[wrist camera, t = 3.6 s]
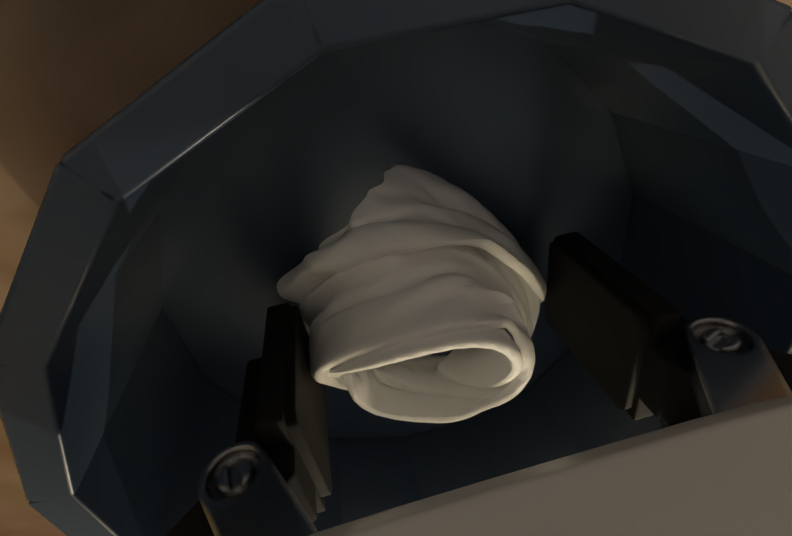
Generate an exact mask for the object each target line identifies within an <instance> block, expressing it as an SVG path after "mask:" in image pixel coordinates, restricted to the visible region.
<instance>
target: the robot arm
mask: <svg viewBox="0 0 792 536" xmlns="http://www.w3.org/2000/svg"><path fill="white" fill-rule="evenodd" d="M681 314H682V312H681V311H680V310H678V309H677V308H676V307H675V306H673V305H672V304H671V303H669V302H668V301H667V300H665V299H664V298H663V297H662V296H660V295H659V294H658V293H656V292H655V291H654V290H652V289H651V288H650V287H649V286H647V285H646V284H645V283H643V282H642V281H641V280H639V279H638V278H637V277H635V276H634V275H633V274H632V273H630V272H629V271H628V270H626V269H625V268H624V267H622V266H621V265H620V264H619V263H617V262H616V261H615V260H613V259H612V258H611V257H609V256H608V255H607V254H606V253H604V252H603V251H602V250H600V249H599V248H598V247H596V246H595V245H594V244H592V243H591V242H590V241H589V240H587V239H586V238H585V237H583V236H582V235H581V234H579V233H578V232H571V233H567V234H563V235H558V236H556V237H555V238H554V242H551V243H550V245H549V255H548V275H547V296H546V318H547V321H548V323H549V324H550V326H551V327H552V328H553V330H554V331H555V332H556V333H557V334H558V336H559V337H560V338H561V339H562V341H563V342H564V343H565V344H566V345H567V347H568V348H569V349H570V350H571V352H572V353H573V354H574V355H575V356H576V358H577V359H578V360H579V361H580V363H581V364H582V365H583V366H584V368H585V369H586V370H587V371H588V372H589V374H590V375H591V376H592V377H593V379H594V380H595V381H596V382H597V383H598V385H599V386H600V387H601V388H602V390H603V391H604V392H605V393H606V394H607V396H608V397H609V398H610V399H611V401H612V402H613V403H614V404H615V405H616V407H617V408H619V409H620V410H626V412H627V413H628V414H629V415H630V416H631V418H632V419H633V420H634V421H635V420H639V419H642V418H645V417H649V416H652V415H654V416H655V417H656V418H658V419H660V424H661V428H662V429H659V430H655V431H652V432H648V433H645V434H641V435H638V436H634V437H631V438H627V439H624V440H620V441H617V442H614V443H610V444H607V445H603V446H600V447H596V448H593V449H590V450H586V451H583V452H579V453H576V454H573V455H569V456H566V457H562V458H559V459H556V460H552V461H549V462H545V463H542V464H539V465H535V466H532V467H528V468H525V469H522V470H518V471H515V472H512V473H508V474H505V475H501V476H498V477H495V478H491V479H488V480H485V481H481V482H478V483H475V484H471V485H468V486H465V487H461V488H458V489H455V490H451V491H448V492H445V493H441V494H438V495H435V496H431V497H428V498H425V499H421V500H418V501H415V502H411V503H408V504H405V505H402V506H398V507H395V508H392V509H388V510H385V511H382V512H379V513H376V514H372V515H369V516H366V517H363V518H360V519H357V520H354V521H351V522H347V523H344V524H341V525H338V526H335V527H332V528H329V529H326V530H322V531H319V532H318V530H317V529H316V527H315V526H314V524H313V522H314V521H315V520H316V518H317V513H320V512H323V511H325V496H327V495H331V492H332V487H331V472H330V458H329V443H328V429H327V414H326V400H325V386H324V384H321V383H318V382H317V381H316V380H315V379H314V378H313V376H312V375H311V372H310V369H309V361H310V360H309V350H308V343H309V336H308V333H307V330H306V328H305V325H304V322H303V319H302V317H301V314H300V311H299V309H298V307H297V306H292V307H291V306H290V304H289V303H288V302H287V303H283V304H279V305H275V306H271V307H268V309H267V316H266V325H265V334H264V343H263V352H262V357H261V358H257V359H253V360H249V362H248V363H247V367H246V374H245V380H244V387H243V393H242V400H241V407H240V413H239V420H238V426H237V433H236V440H235V443H234V444H231V445H229V446H227V447H225V448H224V449H222V450H220V451H219V452H218V453H217V454H216V455H214V456H213V457H212V458H211V459H210V460H209V462H208V463H207V464H206V465H205V467H204V468H203V470H202V472H201V474H200V476H199V478H198V484H197V493H198V498H199V501H198V502H197V503H196V504H195V505H194V506H193V507H192V508H191V509H190V510H189V511H188V512H187V513H186V514H185V515H184V516H183V518H182V519H181V520H180V521H179V522H178V523H177V524H176V525H175V526H174V527H173V528H172V529H171V530H170V531H169V532H168V533H167V534H166V535H165V536H792V354H788V353H784V352H779V351H775V350H770V349H767V348H766V346H765V344H764V342H763V340H762V339H761V338H760V336H759V335H758V334H757V333H756V332H755V331H754V330H752V329H751V328H750V327H748V326H747V325H744V324H742V323H740V322H738V321H736V320H732V319H729V318H726V317H720V316H700V317H696V318H693V319H691V320H690V321H688V320H686V319H685V318H684V317H682V316H681Z"/></svg>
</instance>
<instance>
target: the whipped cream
mask: <svg viewBox="0 0 792 536" xmlns="http://www.w3.org/2000/svg"><path fill="white" fill-rule="evenodd" d="M546 290H547V288H546V283H545V281H544V279H543V277H542V276H541V274H540V272H539V270H538V269H537V267H536V266H535V264H534V263H533V262H532V260H531V259H530V258H529V256H528V255H527V254H526V253H525V252H524V251H523V250H522V248H521V247H520V245H519V243H518V242H517V240H516V239H515V238H514V236H513V235H512V234H511V233H510V232H509V231H508V230H507V228H506V227H505V226H504V225H503V224H502V223H501V222H500V221H499V220H498V219H497V218H496V217H495V216H494V215H493V214H492V213H491V212H490V211H489V210H488V209H486V208H485V207H484V206H483V205H482V204H481V203H480V202H479V201H477V200H476V199H475V198H474V197H473V196H471V195H470V194H469V193H467V192H466V191H464V190H463V189H461V188H459V187H457V186H455V185H453V184H451V183H449V182H448V181H446V180H444V179H443V178H441V177H439V176H437V175H435V174H433V173H431V172H428V171H425V170H422V169H418V168H414V167H410V166H405V165H397V164H394V165H392V167H391V169H389V170H387V171H385V172H384V182H383V183H382V184H380V185H378V186H377V187H374V188H372V189H370V190H369V191H368V193H367V196H366V198H365V199H364V200H363V201H362V202H361V203H360V204H359V205H358V206H357V207H356V209H355V210H354V211H353V213H352V215H351V218H350V221H349V224H348V225H347V226H346V227H345V228H344V229H342V230H341V231H339V232H337V233H335V234H334V235H332V236H330V237H328V238H327V239H325V240H324V241H323V242H322V243H321V244H320V245H319V250H317V251H314V252H312V253H309V254H308V255H306V256H305V258H304V259H303V261H302V262H301V263H300V264H299V265H298V266H296V267H295V268H294V269H292V270H291V271H289V272H288V273H287V274H285V275H284V276H283V277H281V279H280V280H279V281H278V283H277V292H278V294H279V295H280V296H281V297H282V298H284V299H286V300H289V301H292V302H296V303H299V304H300V312H301V314H302V317H303V319H304V321H305V322H306V324H307V325H308V327H309V328H310V332H309V343H308V350H309V360H310V361H309V369H310V372H311V375H312V376H313V378H314V379H315V380H316V381H317V382H318V383H321V384H325V385H328V386H332V387H336V388H339V389H343V390H348V391H349V393H350V395H351V397H352V399H353V401H354V402H355V403H357V404H358V405H359V406H360V407H361V408H363V409H364V410H366V411H368V412H370V413H372V414H375V415H377V416H382V417H386V418H390V419H394V420H402V421H410V422H426V423H451V422H457V421H461V420H464V419H467V418H470V417H472V416H474V415H476V414H478V413H480V412H482V411H485V410H488V409H491V408H494V407H497V406H500V405H502V404H504V403H506V402H508V401H510V400H511V399H513V398H514V397H515V396H517V395H518V394H519V393H520V392H521V391H522V390H523V388H524V387H525V385H526V384H527V383H528V381H529V380H530V378H531V376H532V373H533V370H534V365H535V351H534V345H533V343H532V340H531V336H532V334H533V331H534V329H535V326H536V322H537V318H538V316H539V312H540V304H541V302H543V301H544V299H545V296H546ZM453 349H454V350H453ZM448 350H453V351H452V352H451V353H450V354H449V355H429V354H433V353H438V352H444V351H448Z"/></svg>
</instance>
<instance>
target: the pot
mask: <svg viewBox="0 0 792 536" xmlns="http://www.w3.org/2000/svg"><path fill="white" fill-rule="evenodd" d="M791 10H792V8H791V7H790V6H788V5H786V4H783V3H781V2H778V1H776V0H261V1H260V2H258V3H257V4H256V5H254V6H253V7H252V8H251V9H249V10H248V11H247V12H246V13H244V14H243V15H242V16H240V17H239V18H238V19H237V20H235V21H234V22H233V23H231V24H230V25H229V26H228V27H226V28H225V29H224V30H222V31H221V32H220V33H219V34H217V35H216V36H215V37H213V38H212V39H211V40H210V41H208V42H207V43H206V44H205V45H203V46H202V47H201V48H199V49H198V50H197V51H196V52H194V53H193V54H192V55H190V56H189V57H188V58H187V59H185V60H184V61H183V62H181V63H180V64H179V65H178V66H176V67H175V68H174V69H172V70H171V71H170V72H169V73H167V74H166V75H165V76H164V77H162V78H161V79H160V80H158V81H157V82H156V83H155V84H153V85H152V86H151V87H149V88H148V89H147V90H146V91H144V92H143V93H142V94H140V95H139V96H138V97H137V98H135V99H134V100H133V101H131V102H130V103H129V104H128V105H126V106H125V107H124V108H123V109H121V110H120V111H119V112H117V113H116V114H115V115H114V116H112V117H111V118H110V119H108V120H107V121H106V122H105V123H103V124H102V125H101V126H99V127H98V128H97V129H96V130H94V131H93V132H92V133H90V134H89V135H88V136H87V137H85V138H84V139H83V140H82V141H80V142H79V143H78V144H76V145H75V146H74V147H73V148H71V149H70V150H69V151H67V152H66V153H65V154H64V155H63V156H62V159H61V162H59V163H58V164H57V165H56V166H55V168H54V171H53V174H52V177H51V179H50V182H49V185H48V187H47V190H46V193H45V195H44V198H43V201H42V203H41V206H40V209H39V211H38V214H37V217H36V219H35V222H34V225H33V228H32V230H31V233H30V236H29V238H28V241H27V244H26V246H25V249H24V252H23V254H22V257H21V260H20V262H19V265H18V268H17V271H16V273H15V276H14V279H13V281H12V284H11V287H10V289H9V292H8V295H7V297H6V300H5V303H4V305H3V308H2V311H1V313H0V416H1V419H2V422H3V426H4V429H5V432H6V435H7V438H8V441H9V444H10V448H11V451H12V454H13V457H14V460H15V463H16V467H17V470H18V473H19V476H20V479H21V482H22V485H23V489H24V492H25V495H26V498H27V500H28V501H29V505H30V506H31V507H33V508H34V509H35V510H36V511H37V512H39V513H40V514H41V515H42V516H44V517H45V518H46V519H47V520H48V521H50V522H51V523H52V524H53V525H55V526H56V527H57V528H58V529H59V530H61V531H62V532H63V533H64V534H66V535H67V536H165V535H166V534H167V533H168V532H169V531H170V530H171V529H172V528H173V527H174V526H175V525H176V524H177V523H178V522H179V521H180V520H181V519H182V518H183V516H184V515H185V514H186V513H187V512H188V511H189V510H190V509H191V508H192V507H193V506H194V505H195V504H196V503H197V502H198V501H199V498H198V493H197V484H198V478H199V476H200V474H201V472H202V470H203V468H204V467H205V465H206V464H207V463H208V462H209V460H210V459H211V458H212V457H213V456H214V455H216V454H217V453H218V452H219V451H220V450H222V449H224V448H225V447H227V446H229V445H231V444H234V443H235V440H236V433H237V426H238V420H239V413H240V407H241V400H242V393H243V387H244V380H245V374H246V367H247V363H248V362H249V360H253V359H257V358H261V357H262V352H263V343H264V334H265V325H266V316H267V309H268V307H271V306H275V305H279V304H283V303H287V302H288V303H289V304H290V306H291V307H292V306H297V307H298V309H299V311H300V304H299V303H296V302H292V301H289V300H286V299H284V298H282V297H281V296H280V295H279V294H278V292H277V283H278V281H279V280H280V279H281V277H283V276H284V275H285V274H287V273H288V272H289V271H291V270H292V269H294V268H295V267H296V266H298V265H299V264H300V263H301V262H302V261H303V259H304V258H305V256H306V255H308V254H309V253H312V252H314V251H317V250H319V245H320V244H321V243H322V242H323V241H324V240H325V239H327V238H328V237H330V236H332V235H334V234H335V233H337V232H339V231H341V230H342V229H344V228H345V227H346V226H347V225H348V224H349V221H350V218H351V215H352V213H353V211H354V210H355V209H356V207H357V206H358V205H359V204H360V203H361V202H362V201H363V200H364V199H365V198H366V196H367V193H368V191H369V190H370V189H372V188H374V187H377V186H378V185H380V184H382V183H383V182H384V172H385V171H387V170H389V169H391V167H392V165H394V164H397V165H405V166H410V167H414V168H418V169H422V170H425V171H428V172H431V173H433V174H435V175H437V176H439V177H441V178H443V179H444V180H446V181H448V182H449V183H451V184H453V185H455V186H457V187H459V188H461V189H463V190H464V191H466V192H467V193H469V194H470V195H471V196H473V197H474V198H475V199H476V200H477V201H479V202H480V203H481V204H482V205H483V206H484V207H485V208H486V209H488V210H489V211H490V212H491V213H492V214H493V215H494V216H495V217H496V218H497V219H498V220H499V221H500V222H501V223H502V224H503V225H504V226H505V227H506V228H507V230H508V231H509V232H510V233H511V234H512V235H513V236H514V238H515V239H516V240H517V242H518V243H519V245H520V247H521V248H522V250H523V251H524V252H525V253H526V254H527V255H528V256H529V258H530V259H531V260H532V262H533V263H534V264H535V266H536V267H537V269H538V270H539V272H540V274H541V276H542V277H543V279H544V281H545V283H546V288H547V275H548V255H549V245H550V243H551V242H554V238H555V237H556V236H558V235H563V234H567V233H571V232H578V233H579V234H581V235H582V236H583V237H585V238H586V239H587V240H589V241H590V242H591V243H592V244H594V245H595V246H596V247H598V248H599V249H600V250H602V251H603V252H604V253H606V254H607V255H608V256H609V257H611V258H612V259H613V260H615V261H616V262H617V263H619V264H620V265H621V266H622V267H624V268H625V269H626V270H628V271H629V272H630V273H632V274H633V275H634V276H635V277H637V278H638V279H639V280H641V281H642V282H643V283H645V284H646V285H647V286H649V287H650V288H651V289H652V290H654V291H655V292H656V293H658V294H659V295H660V296H662V297H663V298H664V299H665V300H667V301H668V302H669V303H671V304H672V305H673V306H675V307H676V308H677V309H678V310H680V311H681V312H682V314H681V316H682V317H684V318H685V319H686V320H688V321H690V320H691V319H693V318H696V317H700V316H720V317H726V318H729V319H732V320H736V321H738V322H740V323H742V324H744V325H747V326H748V327H750V328H751V329H752V330H754V331H755V332H756V333H757V334H758V335H759V336H760V338H761V339H762V340H763V342H764V344H765V346H766V348H767V349H770V350H775V351H779V352H784V353H788V354H792V11H791ZM546 296H547V290H546ZM546 296H545V299H544V301H543V302H541V304H540V312H539V316H538V318H537V322H536V326H535V329H534V331H533V334H532V336H531V340H532V343H533V345H534V351H535V365H534V370H533V373H532V376H531V378H530V380H529V381H528V383H527V384H526V385H525V387H524V388H523V390H522V391H521V392H520V393H519V394H518V395H517V396H515V397H514V398H513V399H511V400H510V401H508V402H506V403H504V404H502V405H500V406H497V407H494V408H491V409H488V410H485V411H482V412H480V413H478V414H476V415H474V416H472V417H470V418H467V419H464V420H461V421H457V422H451V423H426V422H410V421H402V420H394V419H390V418H386V417H382V416H377V415H375V414H372V413H370V412H368V411H366V410H364V409H363V408H361V407H360V406H359V405H358V404H357V403H355V402H354V401H353V399H352V397H351V395H350V393H349V391H348V390H343V389H339V388H336V387H332V386H328V385H325V384H324V386H325V400H326V414H327V429H328V443H329V458H330V472H331V487H332V492H331V495H327V496H325V511H323V512H320V513H317V518H316V520H315V521H314V522H313V524H314V526H315V527H316V529H317V530H318V532H319V531H322V530H326V529H329V528H332V527H335V526H338V525H341V524H344V523H347V522H351V521H354V520H357V519H360V518H363V517H366V516H369V515H372V514H376V513H379V512H382V511H385V510H388V509H392V508H395V507H398V506H402V505H405V504H408V503H411V502H415V501H418V500H421V499H425V498H428V497H431V496H435V495H438V494H441V493H445V492H448V491H451V490H455V489H458V488H461V487H465V486H468V485H471V484H475V483H478V482H481V481H485V480H488V479H491V478H495V477H498V476H501V475H505V474H508V473H512V472H515V471H518V470H522V469H525V468H528V467H532V466H535V465H539V464H542V463H545V462H549V461H552V460H556V459H559V458H562V457H566V456H569V455H573V454H576V453H579V452H583V451H586V450H590V449H593V448H596V447H600V446H603V445H607V444H610V443H614V442H617V441H620V440H624V439H627V438H631V437H634V436H638V435H641V434H645V433H648V432H652V431H655V430H659V429H662V428H661V424H660V419H658V418H656V417H655V416H654V415H652V416H649V417H645V418H642V419H639V420H635V421H634V420H633V419H632V418H631V416H630V415H629V414H628V413H627V412H626V410H620V409H619V408H617V407H616V405H615V404H614V403H613V402H612V401H611V399H610V398H609V397H608V396H607V394H606V393H605V392H604V391H603V390H602V388H601V387H600V386H599V385H598V383H597V382H596V381H595V380H594V379H593V377H592V376H591V375H590V374H589V372H588V371H587V370H586V369H585V368H584V366H583V365H582V364H581V363H580V361H579V360H578V359H577V358H576V356H575V355H574V354H573V353H572V352H571V350H570V349H569V348H568V347H567V345H566V344H565V343H564V342H563V341H562V339H561V338H560V337H559V336H558V334H557V333H556V332H555V331H554V330H553V328H552V327H551V326H550V324H549V323H548V321H547V318H546ZM300 314H301V312H300ZM301 317H302V314H301ZM302 319H303V317H302ZM303 322H304V325H305V328H306V330H307V333H308V336H309V332H310V328H309V327H308V325H307V324H306V322H305V321H304V319H303ZM453 350H454V349H453ZM453 350H448V351H444V352H438V353H433V354H429V355H449V354H450V353H451V352H452V351H453Z"/></svg>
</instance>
